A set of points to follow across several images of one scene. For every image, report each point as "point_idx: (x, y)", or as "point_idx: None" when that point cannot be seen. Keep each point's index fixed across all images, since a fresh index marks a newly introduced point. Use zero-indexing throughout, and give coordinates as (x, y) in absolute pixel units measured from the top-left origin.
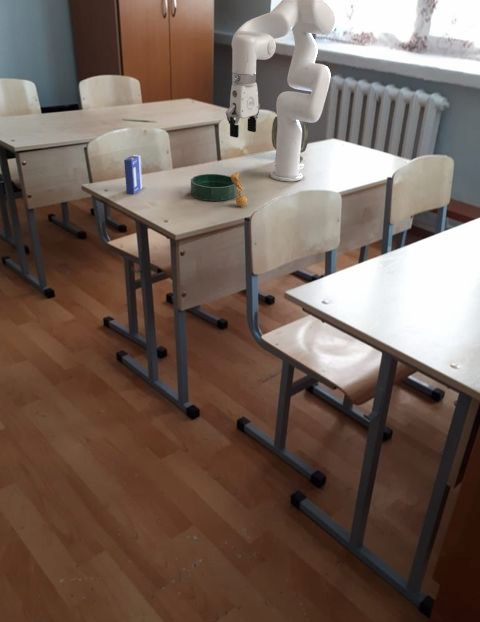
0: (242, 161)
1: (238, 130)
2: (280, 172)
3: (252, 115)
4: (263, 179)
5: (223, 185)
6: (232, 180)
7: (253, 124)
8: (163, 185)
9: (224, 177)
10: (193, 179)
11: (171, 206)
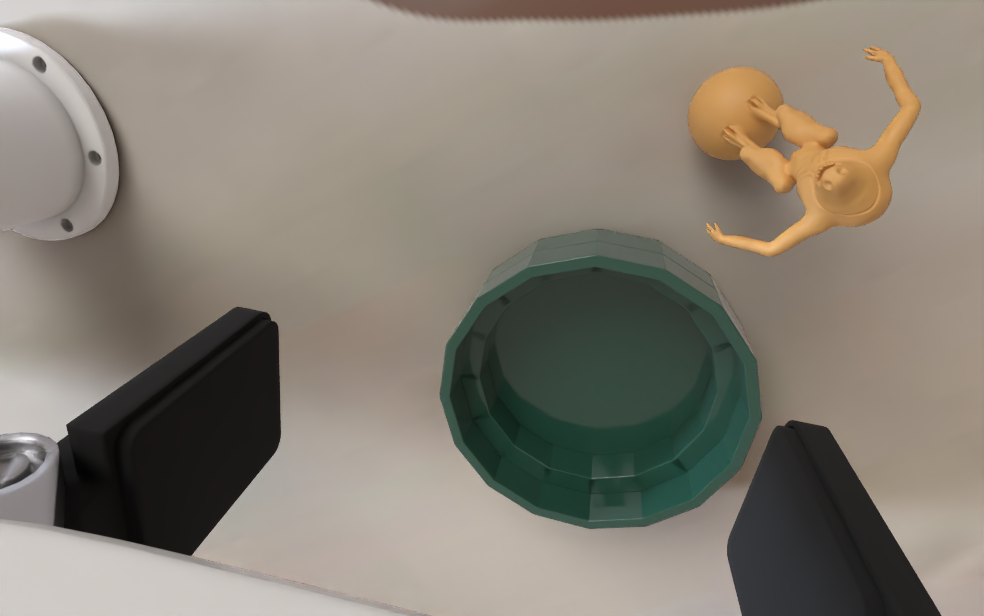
0: None
1: (842, 506)
2: (59, 157)
3: (265, 578)
4: (170, 238)
5: (484, 361)
6: (732, 237)
7: (196, 411)
8: (607, 608)
9: (454, 386)
10: (620, 514)
11: (931, 467)
